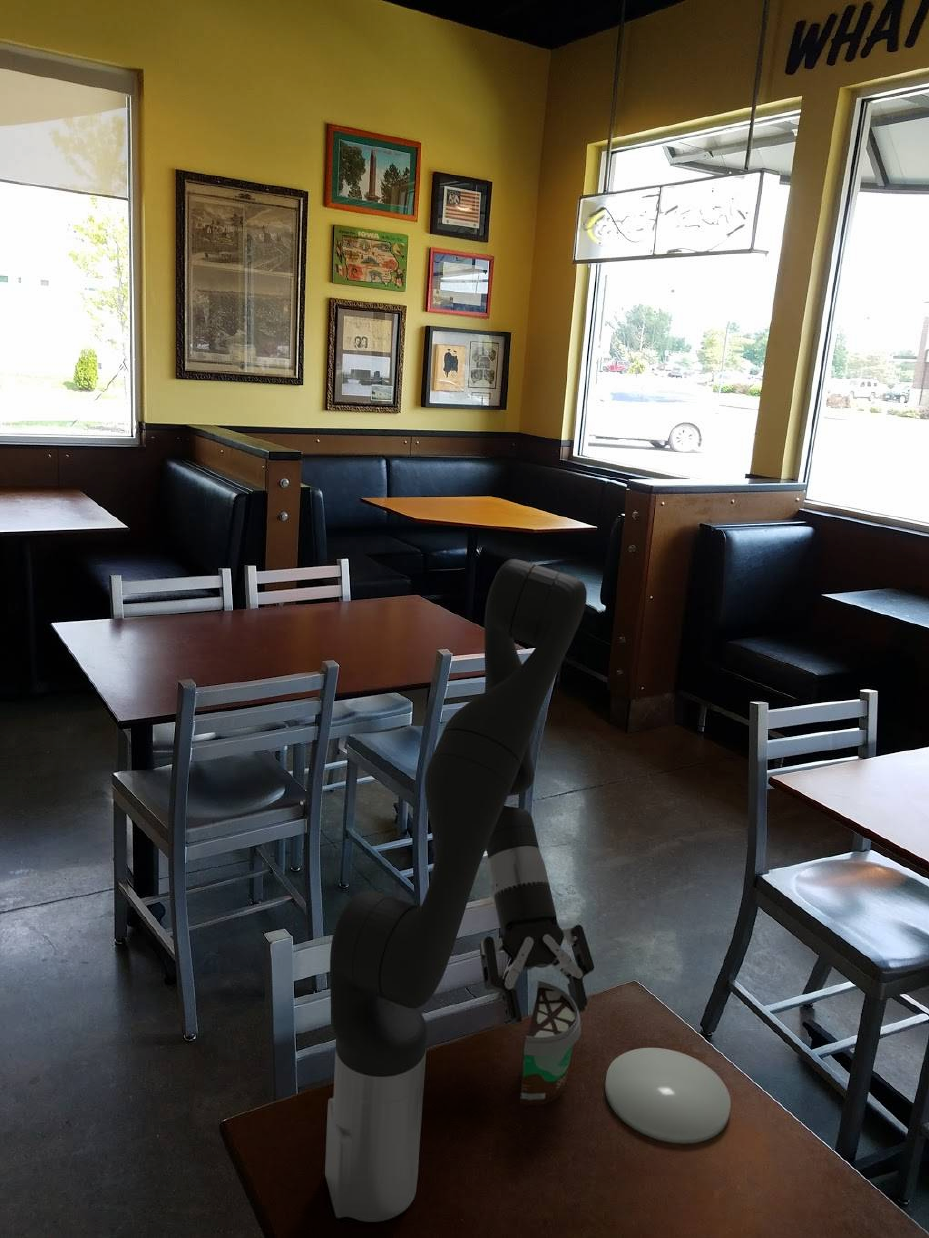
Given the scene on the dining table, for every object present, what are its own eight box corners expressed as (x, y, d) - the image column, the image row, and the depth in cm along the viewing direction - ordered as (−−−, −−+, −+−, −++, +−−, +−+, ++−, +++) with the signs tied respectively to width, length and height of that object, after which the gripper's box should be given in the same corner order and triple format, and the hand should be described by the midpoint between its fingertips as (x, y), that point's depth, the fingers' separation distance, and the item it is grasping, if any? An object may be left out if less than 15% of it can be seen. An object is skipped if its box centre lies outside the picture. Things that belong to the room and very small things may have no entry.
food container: (569, 1122, 114) (578, 1049, 112) (518, 1112, 115) (525, 1038, 113) (579, 1054, 126) (586, 986, 124) (532, 1045, 127) (538, 978, 125)
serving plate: (642, 1154, 110) (644, 1145, 110) (584, 1066, 124) (585, 1058, 123) (754, 1129, 115) (755, 1120, 115) (686, 1047, 129) (687, 1039, 128)
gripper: (478, 885, 123) (505, 1021, 115) (580, 874, 128) (612, 1003, 120) (462, 902, 129) (486, 1032, 121) (559, 890, 134) (588, 1014, 126)
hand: (548, 1017), depth 121 cm, fingers open, 8 cm apart
